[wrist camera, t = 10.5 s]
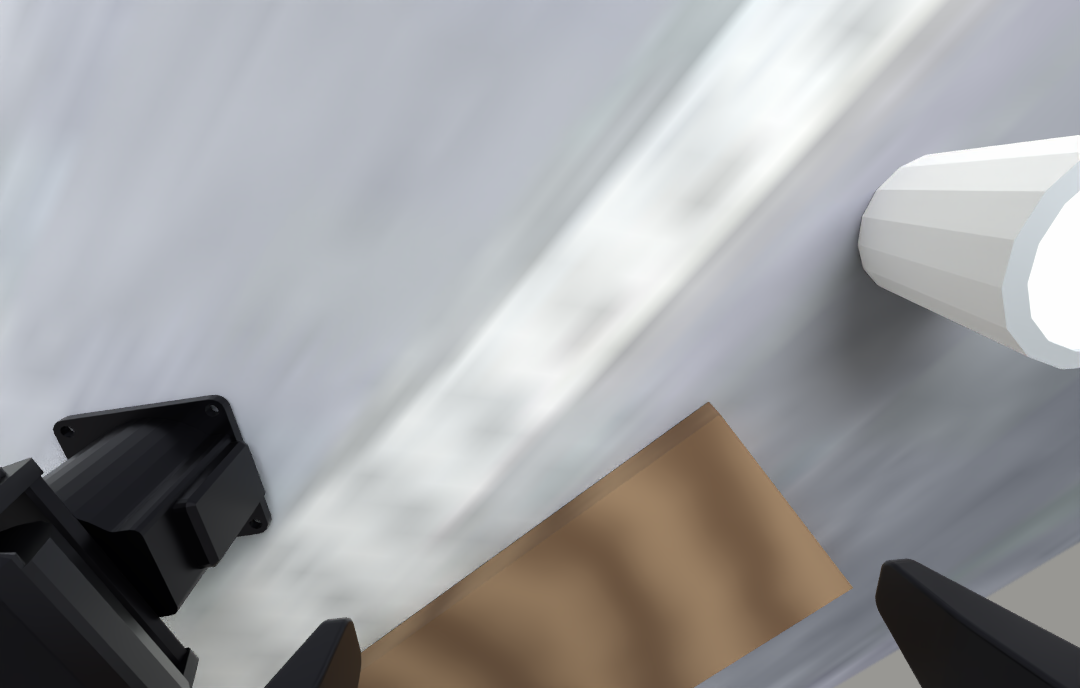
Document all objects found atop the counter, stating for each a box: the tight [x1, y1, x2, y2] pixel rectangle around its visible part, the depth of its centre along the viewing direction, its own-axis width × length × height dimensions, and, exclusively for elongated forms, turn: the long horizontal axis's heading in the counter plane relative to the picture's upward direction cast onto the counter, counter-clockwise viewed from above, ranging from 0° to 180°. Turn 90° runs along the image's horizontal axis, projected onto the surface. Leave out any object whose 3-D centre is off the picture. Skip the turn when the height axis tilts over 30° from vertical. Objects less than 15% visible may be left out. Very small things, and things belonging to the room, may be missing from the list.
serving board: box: [358, 402, 853, 688], centre depth 27 cm, size 34×13×1 cm, turn 129°
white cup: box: [858, 135, 1080, 369], centre depth 17 cm, size 7×7×7 cm
